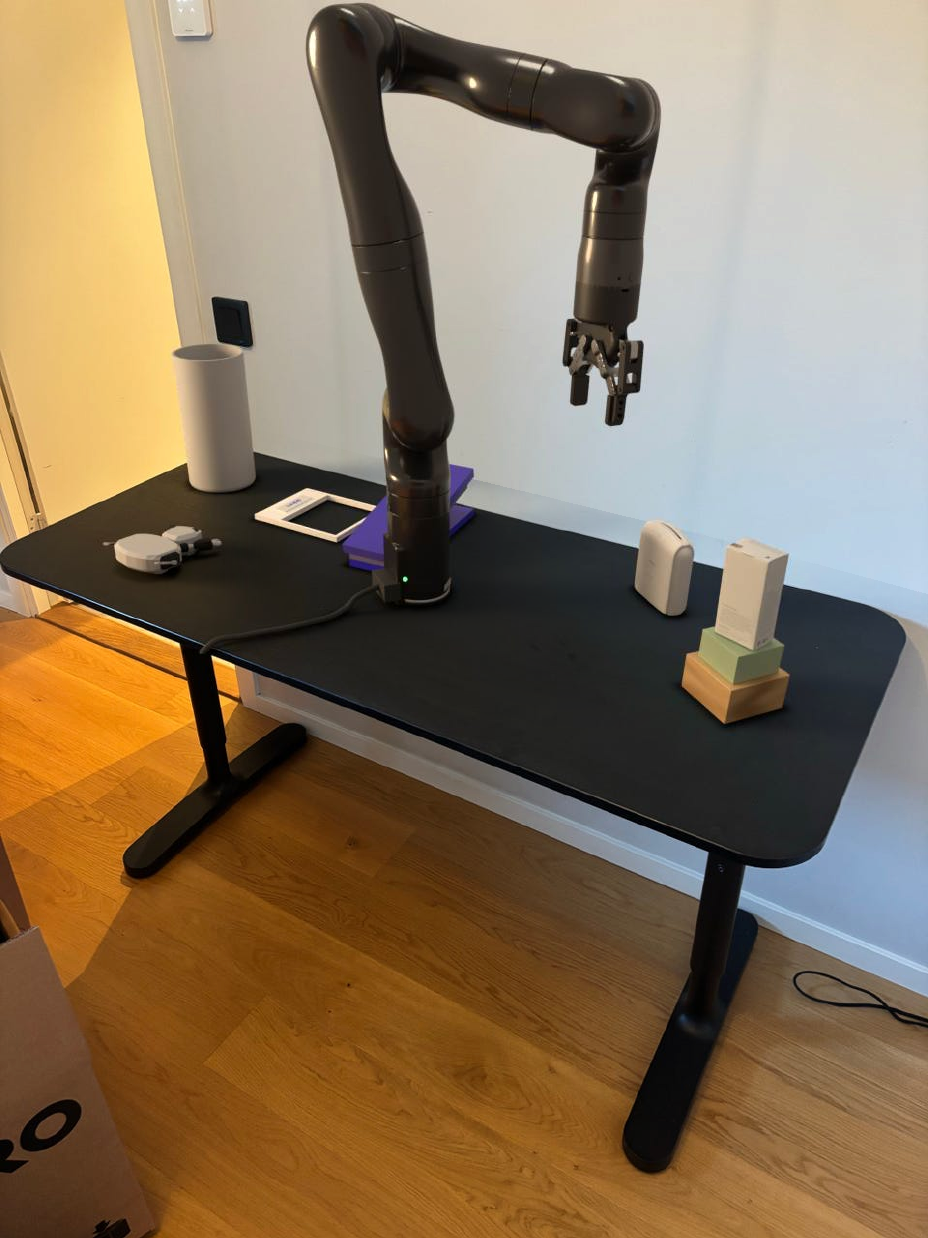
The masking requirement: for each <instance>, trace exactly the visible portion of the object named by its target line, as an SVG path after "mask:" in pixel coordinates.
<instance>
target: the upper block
mask: <svg viewBox="0 0 928 1238" xmlns="http://www.w3.org/2000/svg"><path fill="white" fill-rule="evenodd" d="M784 650H785V644H783V643H782V642H780V641H779V640H778V639H777V638H775V637H773V640H772V642H770V643H768V644H767V645H765V646H763V647H761V648H759V649H757V650H754V651H753V650H751V649H749V648H747V647H745V646H743V645H741V644H739V643H737V642H735V641H733V640H731V639H728V638H726V637H724V636H722V635H720V634H718V633H716V632H715V626H711V627H707V628H703V629H702V631H701V637H700V643H699V649H698V651H699V654H698V656H699V657H700V658H701V659H703V660H704V661H705V662H706V663H707V664H709V665H710V666H711V667H712V668H713V669H715V670H716V671H717V672H718V673H720V674H721V675H722V676H723V677H724V678H726V679H727V680H728V681H729V682H731V683H732V684H736V683H740V682H744V681H748V680H752V679H755V678H759V677H763V676H767V675H770V674H774V673H778V671H779V667H780V668H781V663H782V657H783V654H784Z"/></svg>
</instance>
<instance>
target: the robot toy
mask: <svg viewBox="0 0 928 1238" xmlns="http://www.w3.org/2000/svg"><path fill="white" fill-rule="evenodd" d="M202 533H203V532H202V530H201V529H198V528H197V529H196V528H195V527H193V526H192V527H191V526H185V525H184V526H183V525H174V524H173V525H172V524H171V525H167V527H166V528H164V531H163V533H162V534H160V535H157V534H151V533H135V534H132V535H129V536H125V537H124V538H121V539H118V540H117V541H116V542H103V543H102V545H103V546H114V553H115V559H116V561H117V562H119V563H120V564H122V565H123V566H126V567H127V568H129V569H131V570H134V571H139V572H144V573H149V574H153V575H162V574H164V573H166V572H168V570H170V569H172V568H175V567H177V566H179V565H180V563H181V562H182V561H183V558H182V557H183V556H187V557H188V556H192V555H194V554H196V552H197V551H199V552H207V551H213V547H216V548H217V547H221V545H222V541H221V540H220V539H218V538H213V539H211V537H205V538H204V537H203V534H202Z"/></svg>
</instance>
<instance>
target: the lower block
mask: <svg viewBox="0 0 928 1238" xmlns="http://www.w3.org/2000/svg"><path fill="white" fill-rule="evenodd" d="M698 654H699V650H696V651H693V652H688V653H686V657H685V662H684V669H683V675H682V681H681V687H682V688H683V689H684V690H686V691H687V693H689V694H690V695H691V696H692V697H693V698H694V699H695V700H697V701H698V702H699V703H700V704H701V705H703V707H704V708H705V709H706V710H708V711H709V712H710V713H711V714H712V715H713V716H714V717H716V718H717V719H718V720H719V721H720V722H722V724H724V725H727V724H729V723H733V722H737V721H740V720H744V719H748V718H751V717H754V716H758V715H762V714H765V713H768V712H773V711H775V710H779V709H782V708H783V706H784V701H785V697H786V693H787V689H788V685H789V680H790V676H791V675H790V674H789V673H788V672H786V671H785V670H783V669H782V668H781V666H780V667H779V671H778V673H774V674H770V675H767V676H763V677H759V678H755V679H752V680H748V681H744V682H740V683H736V684H732V683H731V682H729V681H728V680H727V679H726V678H724V677H723V676H722V675H721V674H720V673H718V672H717V671H716V670H715V669H713V668H712V667H711V666H710V665H709V664H707V663H706V662H705V661H704V660H703V659H701V658H700V657H699V656H698Z"/></svg>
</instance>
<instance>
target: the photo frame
mask: <svg viewBox="0 0 928 1238" xmlns="http://www.w3.org/2000/svg"><path fill="white" fill-rule="evenodd" d="M326 501H331V502H335V503H339V504H343V505H347V506H350V507H353V508H354V507H355V508H358V509H362V510H365V511H370V512H372V511H373V509H374V508H375V507H376V506H377V505H374V504H370V503H366V502H362V501H358V500H355V499H350V498H347V497H343V496H339V495H336V494H331V493H327V492H323V491H320V490H316V489H312V488H308V487H306V488H304V489H302V490H300V491H298V492H296V493H293V494H292V495H290V496H288V497H286V498H284V499H282V500H280V501H279V502H276V503H274V504H273V505H270V506H268V507H267V508H265V509H262V510H260V511H259V512H256V513H254V519H255V520H257V521H260V522H265V523H267V524H271V525H274V526H278V527H282V528H285V529H288V530H293V531H295V532H299V533H302V534H306V535H308V536H309V535H310V536H313V537H317V538H320V539H324V540H327V541H331V542H334V543H338V542H340V541H342V540H344V539H345V538H348V537H349V536H350V535H351V534H352V533H353V532H354V531H355V530H356V529H357V527H358V526H359V525H360V524H361V523H362V522H363V521H364V520H365V518H366V517H364V518H361V520H359V521H357V522H355V523H353V524H352V525H351V526H349V527H347V528H346V529H343V530H342V531H340V532H339V533H336V534H333V533H329V532H326V531H322V530H319V529H315V528H311V527H307V526H304V525H301V524H297V523H294V522H290V520H292V519H295V518H296V517H299V516H300V515H302V514H304V513H305V512H307V511H309V510H311V509H313V508H315V507H316V506H319V505H320V504H322V503H324V502H326Z"/></svg>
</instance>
